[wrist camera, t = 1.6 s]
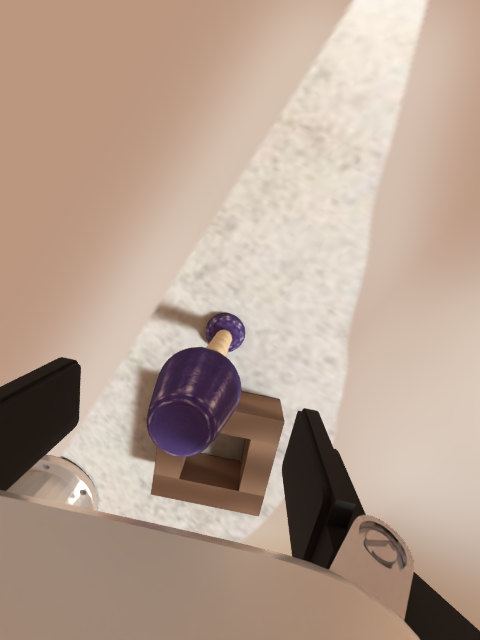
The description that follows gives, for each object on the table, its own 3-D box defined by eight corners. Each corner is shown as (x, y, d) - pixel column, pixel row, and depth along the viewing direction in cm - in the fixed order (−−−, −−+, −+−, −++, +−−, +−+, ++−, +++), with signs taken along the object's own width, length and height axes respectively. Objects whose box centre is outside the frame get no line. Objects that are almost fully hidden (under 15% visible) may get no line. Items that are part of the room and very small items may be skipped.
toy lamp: (194, 327, 26) (101, 427, 10) (225, 298, 25) (179, 356, 9) (224, 358, 27) (184, 500, 11) (256, 331, 26) (263, 440, 10)
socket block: (257, 484, 30) (258, 516, 26) (163, 464, 30) (150, 494, 27) (279, 399, 28) (284, 421, 24) (176, 378, 28) (164, 397, 24)
